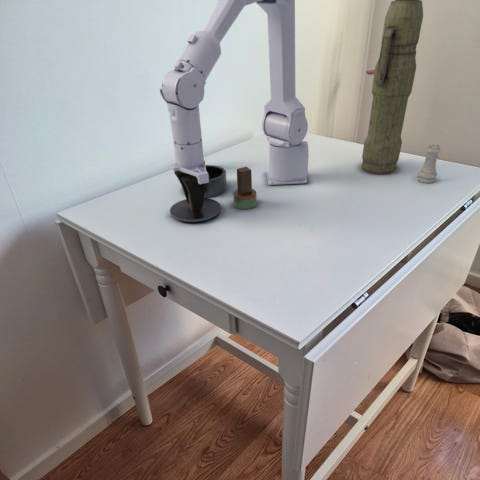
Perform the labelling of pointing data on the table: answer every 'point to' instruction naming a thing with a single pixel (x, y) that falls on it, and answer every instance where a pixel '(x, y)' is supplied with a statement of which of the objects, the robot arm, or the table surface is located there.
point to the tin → (215, 181)
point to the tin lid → (195, 210)
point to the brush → (244, 190)
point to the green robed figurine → (392, 86)
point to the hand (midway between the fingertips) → (195, 205)
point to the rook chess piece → (429, 165)
